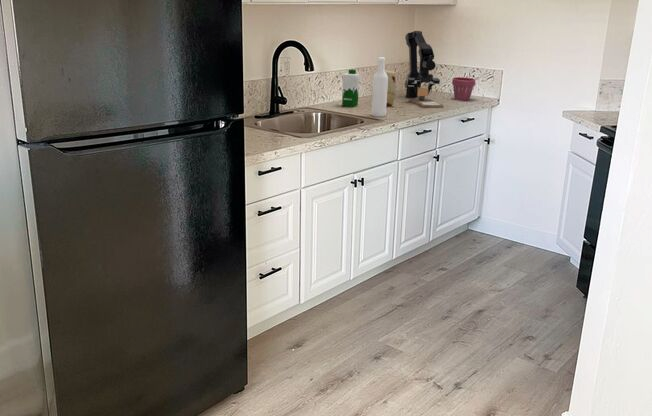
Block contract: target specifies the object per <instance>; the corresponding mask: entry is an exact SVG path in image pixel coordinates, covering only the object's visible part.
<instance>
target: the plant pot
mask: <svg viewBox="0 0 652 416" xmlns="http://www.w3.org/2000/svg"><path fill="white" fill-rule="evenodd" d="M476 81H477V80H476V78H472V77H463V76H462V77H459V76H457V77H453V78H452V82H451V85H452V86H453V95H454V101H455V100H456V101H470V99H471V96H472V94H473V93H472V92H473V90H474V87H475V86H476Z"/></svg>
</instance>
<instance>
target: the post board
mask: <svg viewBox="0 0 652 416" xmlns="http://www.w3.org/2000/svg"><path fill="white" fill-rule="evenodd" d="M408 102H410V103H412V104H414V105H416V106H418V107H420V108H423V109H443V108H444V105H443V104H441V103H439V102H437V101H434V100H432V99H430V98H427V97H426V96H418V97H417V98H408Z"/></svg>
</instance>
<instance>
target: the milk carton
mask: <svg viewBox="0 0 652 416" xmlns="http://www.w3.org/2000/svg"><path fill="white" fill-rule="evenodd" d="M341 90H342V93H341V95H342V98H341V100H342V101H341V102H342V103H341V105H342V106H341V107H347V108H355V107H357V106H358V104H359V103H358V102H359V90H360V73H357V70H356V69H348V72H346V73H344V74H342V89H341Z"/></svg>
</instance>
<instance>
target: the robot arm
mask: <svg viewBox="0 0 652 416" xmlns="http://www.w3.org/2000/svg"><path fill="white" fill-rule="evenodd" d="M404 39H405V42H406V45H407V47H408V51H409V52H408V54H409V55H408V56H409V57H408V58H409V72H408V74H407V76H406V80H405V82H404V88H406V91H405V92H406V93H405V96H404V98H408V99H410V98H419V96H417V87H419V88H421V86H422V84H424V83H426V84H428V86H427V88H428V95H429V93H430V91H431V89H432V87H433V86H435V85H440V79H439V78H438V77H434V76H433V73H431V74H430V71H433V70H435V68H436V62H435V61H434V59H435V53H434V49H433V47H432V46H431V45H430V44H428V43H427V42H426V39H425V37H424V35H423V31H421V30H414V31H412V32H411V31H410V32H407V34H405V37H404ZM418 56H419V68H418ZM418 69H419V71H418Z"/></svg>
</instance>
